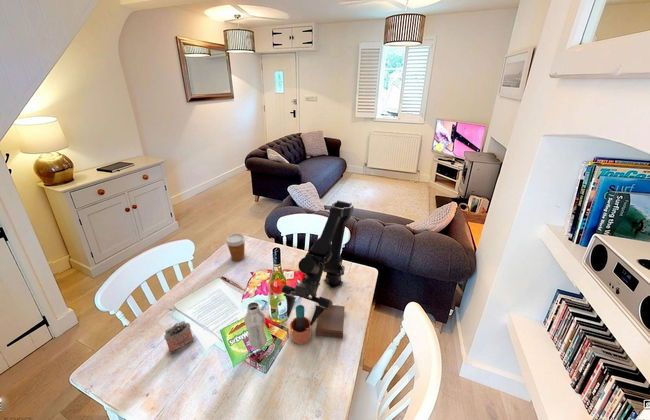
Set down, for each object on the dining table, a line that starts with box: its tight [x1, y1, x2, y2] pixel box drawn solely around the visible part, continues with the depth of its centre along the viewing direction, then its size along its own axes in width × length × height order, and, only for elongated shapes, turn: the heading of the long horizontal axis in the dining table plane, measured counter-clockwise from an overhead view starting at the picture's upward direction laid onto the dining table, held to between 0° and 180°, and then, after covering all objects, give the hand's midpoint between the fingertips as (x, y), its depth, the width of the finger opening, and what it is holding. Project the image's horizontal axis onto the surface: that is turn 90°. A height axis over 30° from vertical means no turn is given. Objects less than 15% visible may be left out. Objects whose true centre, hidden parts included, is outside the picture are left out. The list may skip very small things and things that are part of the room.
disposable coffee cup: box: [225, 233, 246, 262], centre depth 139 cm, size 10×10×12 cm
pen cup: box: [289, 316, 312, 345], centre depth 98 cm, size 7×7×6 cm
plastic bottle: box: [243, 301, 268, 349], centre depth 89 cm, size 6×7×20 cm
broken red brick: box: [163, 320, 195, 355], centre depth 92 cm, size 8×3×10 cm, turn 134°
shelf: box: [315, 304, 346, 340], centre depth 103 cm, size 12×10×4 cm
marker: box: [295, 304, 305, 332], centre depth 96 cm, size 3×3×13 cm
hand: (299, 321), depth 95 cm, fingers open, 9 cm apart
